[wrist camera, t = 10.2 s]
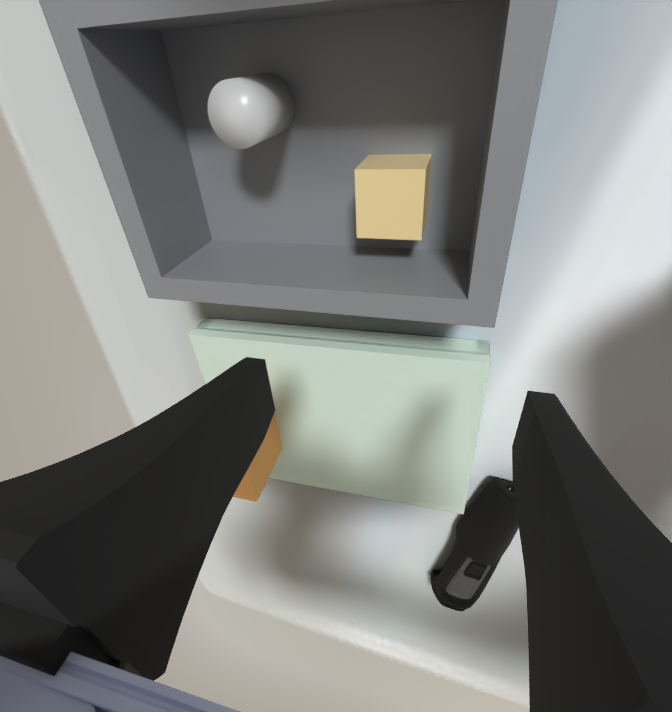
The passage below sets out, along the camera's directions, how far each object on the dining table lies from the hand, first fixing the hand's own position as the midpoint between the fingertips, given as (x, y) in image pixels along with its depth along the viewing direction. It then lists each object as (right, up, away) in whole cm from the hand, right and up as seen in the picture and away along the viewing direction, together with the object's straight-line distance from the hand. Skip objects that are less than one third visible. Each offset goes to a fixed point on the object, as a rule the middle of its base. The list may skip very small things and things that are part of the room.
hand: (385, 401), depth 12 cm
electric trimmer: (+9, -11, +18) cm, 23 cm away
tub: (-2, +10, +5) cm, 11 cm away
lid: (-1, -2, +14) cm, 14 cm away
